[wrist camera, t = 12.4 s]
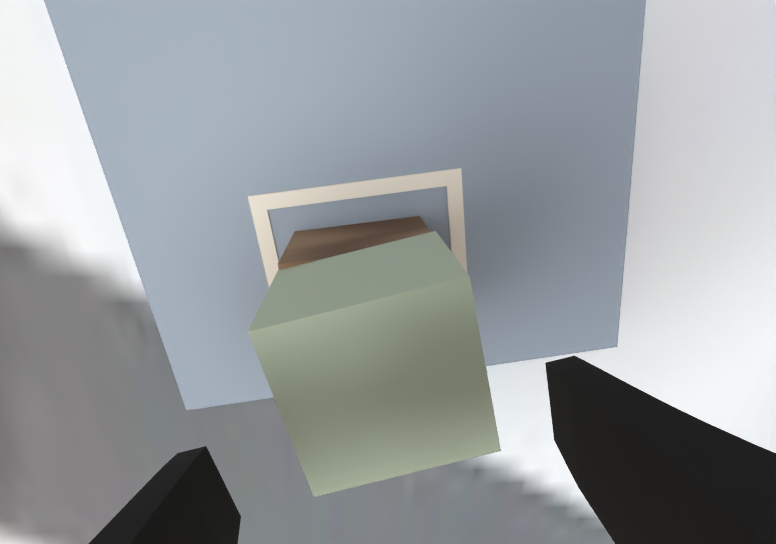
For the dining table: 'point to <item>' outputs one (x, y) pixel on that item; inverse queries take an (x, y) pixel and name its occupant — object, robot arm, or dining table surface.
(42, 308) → the dining table surface
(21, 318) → the dining table surface
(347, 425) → the sage block
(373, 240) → the walnut block
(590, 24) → the board
